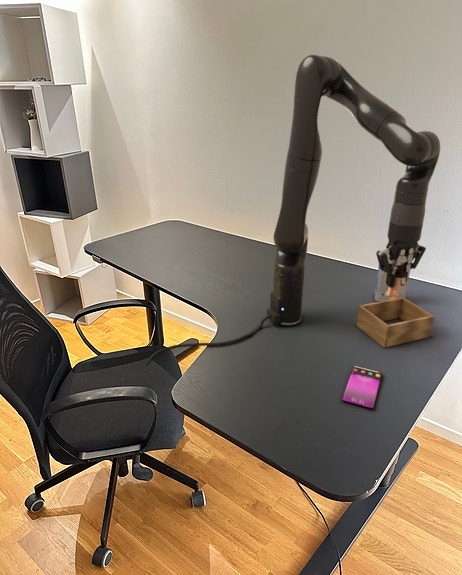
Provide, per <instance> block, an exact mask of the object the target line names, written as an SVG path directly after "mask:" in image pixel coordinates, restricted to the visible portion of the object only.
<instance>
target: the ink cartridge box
mask: <svg viewBox="0 0 462 575" xmlns="http://www.w3.org/2000/svg"><path fill="white" fill-rule="evenodd" d="M392 266H393V265H392ZM410 274H411V270H410V271H409V272H408V277H407V282H406V284H405V285H403V286H401V285H400V292H399V297H400V298H401V297H404V298H405V299H406V295H407V291H408V285H409V284H408V283H409V279H410ZM386 277H387V273H386V272H384V271H382V270H381V269H380V265H379V264H378V268H377V276H376V285H375V292H374V302H381V301H386V300H390V299H389V298H390V296H387V295H386V294H385V293H386V292H387V291H388V288H389V286H387V284H386Z"/></svg>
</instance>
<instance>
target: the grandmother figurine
mask: <svg viewBox="0 0 462 575" xmlns="http://www.w3.org/2000/svg"><path fill="white" fill-rule="evenodd" d="M394 261H395V260H394ZM407 261H408V260H407V257H406V256H403V257H402V261H401V264H400V266H398V269H397V272H396V280H395V286H394V287H393V288H390V287H389V288H388V291H387V292H386V293H385V294H386V295H387V296H390V298H389V299H390V300H393V301H397V300H400V297H399V292H400V285H401V284H402V285H405V284H406V282H405V281H406V275H405V272H404V269H403V266H402V265H403V263H405V262H407ZM395 262H396V261H395ZM392 268H393V266H392ZM401 281H402V282H401Z"/></svg>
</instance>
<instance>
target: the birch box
mask: <svg viewBox="0 0 462 575" xmlns="http://www.w3.org/2000/svg"><path fill="white" fill-rule="evenodd" d="M357 309H358V310H357V316H356V323H355V324H356V325H355V326H356V327H358V328H359V329H360V330H361V331H363V332H364V333H365V334H366V335H368V336H369V337H370V338H371V339H372V340H374V341H375V342H376V343H377V344H378V345H380V346H381V347H382V348H389V347H394V346H397V345H401V344H406V343H410V342H414V341H418V340H423V339H427V338H431V336H432V335H431V334H432V331H433V326H434V321H435V315H433V314H432V313H429V312H428V311H426V310H425V309H423V308H422V307H420V306H418V305H417V304H415V303H413V302H412V301H410V300H408V299H407V298H406V297H405V298H404V297H401V298H400V300H397V301H393V300H386V301H375V302H371V303H366V304H361V305H358V308H357ZM395 319H400V320H401V321H400V322H396V323H391V324H388V323H386V321H390V320H395Z"/></svg>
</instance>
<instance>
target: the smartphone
mask: <svg viewBox="0 0 462 575" xmlns="http://www.w3.org/2000/svg"><path fill="white" fill-rule="evenodd" d="M382 376H383V372H382V371H380V370H376V369H372V368H368V367H364V366H359V365H353V367H352V370H351V373H350V376H349V379H348V382H347V384H346V388H345V390H344V392H343V396H342V398H341V400H342V402H344V403H347V404H351V405H354V406H358V407H361V408H366V409H369V410H373V409H374V407H375V402H376V399H377V395H378V391H379V387H380V383H381V379H382Z"/></svg>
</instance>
